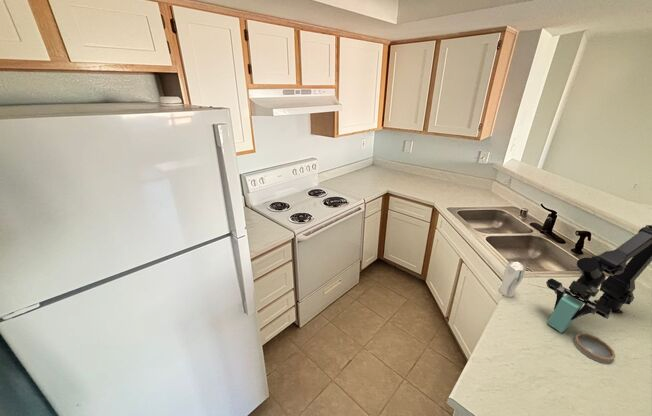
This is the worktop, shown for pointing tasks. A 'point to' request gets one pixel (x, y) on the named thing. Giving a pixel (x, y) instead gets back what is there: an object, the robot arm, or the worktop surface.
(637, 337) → the worktop surface
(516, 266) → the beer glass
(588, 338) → the groove tray
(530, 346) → the worktop surface
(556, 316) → the teal rectangular block
